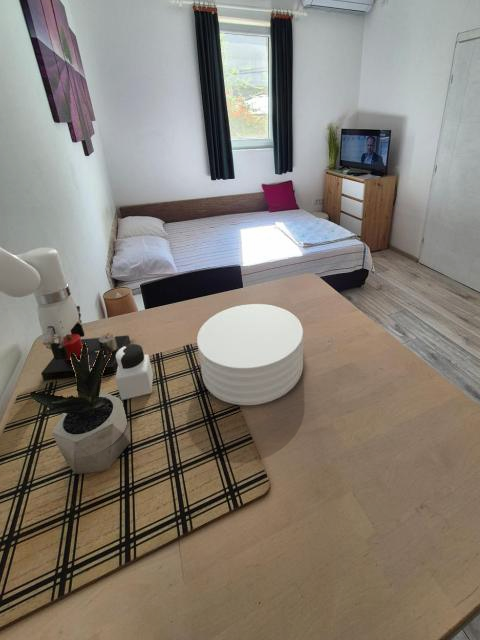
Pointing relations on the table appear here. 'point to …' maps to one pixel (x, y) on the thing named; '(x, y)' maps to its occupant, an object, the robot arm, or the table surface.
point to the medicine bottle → (133, 372)
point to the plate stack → (251, 353)
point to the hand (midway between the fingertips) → (70, 347)
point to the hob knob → (108, 343)
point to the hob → (64, 367)
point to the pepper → (72, 344)
